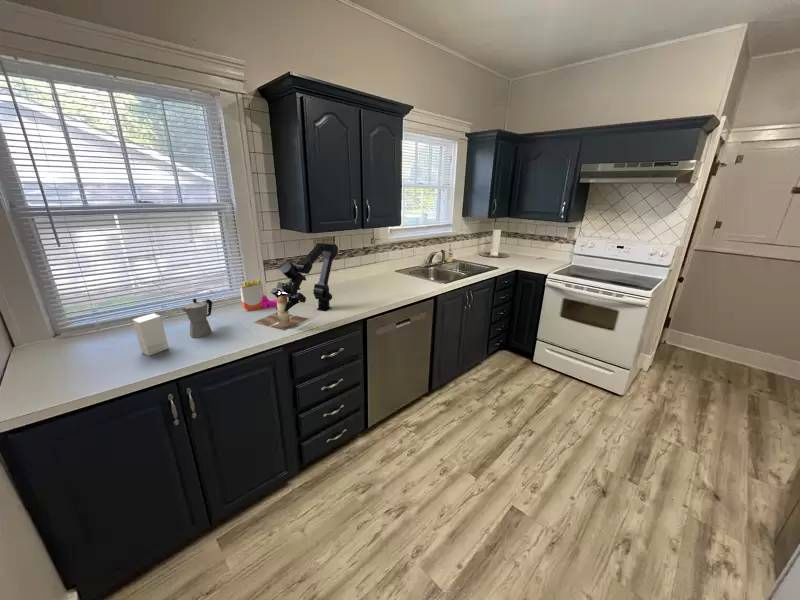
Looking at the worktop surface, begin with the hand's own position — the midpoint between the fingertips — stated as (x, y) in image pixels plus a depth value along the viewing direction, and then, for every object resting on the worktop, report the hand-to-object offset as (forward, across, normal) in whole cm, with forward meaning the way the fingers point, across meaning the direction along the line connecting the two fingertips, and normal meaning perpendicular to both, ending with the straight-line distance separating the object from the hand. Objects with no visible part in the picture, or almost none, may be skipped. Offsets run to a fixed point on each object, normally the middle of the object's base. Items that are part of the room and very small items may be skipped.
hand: (280, 310), depth 161 cm
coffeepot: (+23, -30, -8) cm, 38 cm away
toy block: (-9, -29, +24) cm, 39 cm away
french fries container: (-2, -35, +16) cm, 38 cm away
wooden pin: (+4, 0, +6) cm, 7 cm away
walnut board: (+3, -7, +12) cm, 14 cm away
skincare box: (+37, -31, -23) cm, 54 cm away
